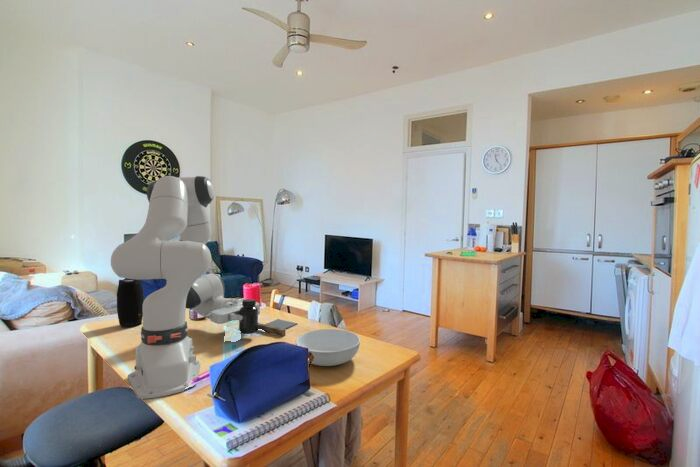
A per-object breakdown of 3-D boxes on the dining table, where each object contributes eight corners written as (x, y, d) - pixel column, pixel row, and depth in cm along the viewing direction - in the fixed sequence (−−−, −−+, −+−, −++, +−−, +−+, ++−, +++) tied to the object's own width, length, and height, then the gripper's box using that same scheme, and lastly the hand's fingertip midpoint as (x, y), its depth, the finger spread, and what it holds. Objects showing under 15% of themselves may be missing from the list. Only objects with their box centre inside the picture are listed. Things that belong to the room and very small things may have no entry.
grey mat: (297, 324, 147) (297, 323, 147) (280, 331, 137) (280, 330, 137) (278, 320, 152) (278, 319, 152) (260, 327, 143) (260, 325, 143)
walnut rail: (285, 335, 133) (285, 329, 133) (282, 336, 132) (282, 330, 132) (248, 326, 143) (248, 320, 143) (245, 327, 142) (245, 321, 141)
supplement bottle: (260, 332, 129) (261, 301, 128) (242, 335, 125) (243, 303, 124) (254, 327, 134) (254, 297, 134) (236, 330, 130) (237, 299, 130)
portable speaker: (147, 324, 144) (146, 278, 143) (122, 330, 137) (121, 281, 136) (138, 320, 149) (137, 276, 148) (113, 325, 142) (112, 279, 141)
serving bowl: (320, 343, 126) (320, 324, 125) (370, 355, 115) (371, 335, 115) (281, 364, 108) (281, 342, 108) (337, 381, 97) (337, 357, 97)
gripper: (202, 307, 127) (228, 313, 120) (244, 297, 144) (269, 301, 137) (202, 324, 127) (228, 331, 120) (244, 311, 145) (269, 316, 138)
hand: (250, 315), depth 129 cm, fingers closed on supplement bottle, 7 cm apart
